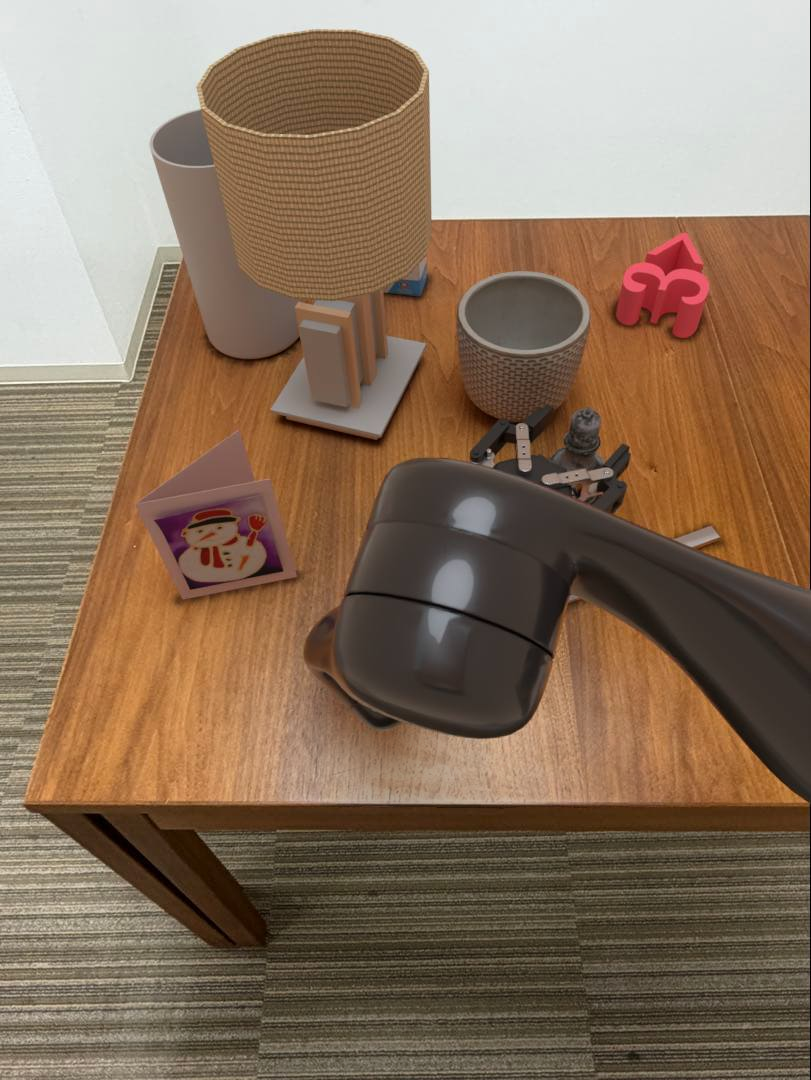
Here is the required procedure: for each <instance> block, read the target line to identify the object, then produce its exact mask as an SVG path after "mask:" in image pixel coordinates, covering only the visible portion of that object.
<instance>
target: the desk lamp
mask: <svg viewBox="0 0 811 1080" xmlns="http://www.w3.org/2000/svg"><path fill="white" fill-rule="evenodd" d="M195 88H196V93H197V98H198V102H199V106H200V109H201V111H202V115H203V119H204V124H205V128H206V132H207V136H208V140H209V144H210V148H211V152H212V157H213V161H214V165H215V169H216V173H217V177H218V181H219V185H220V190H221V194H222V198H223V202H224V206H225V210H226V214H227V218H228V223H229V227H230V231H231V235H232V239H233V243H234V247H235V251H236V256H237V260H238V264H239V268H240V269H241V270H242V271H243V272H244V273H245V274H246V275H247V276H248V277H250V278H251V279H252V280H253V281H254V282H255V283H256V284H257V285H258V286H259V287H261V288H264V289H267V290H270V291H272V292H275V293H278V294H281V295H284V296H286V297H289V298H292V299H301V300H305V301H306V300H307V301H311V302H312V304H311V303H307V302H302V303H301V302H298V303H297V305H296V306H295V313H296V318H297V323H298V329H299V334H300V336H299V339H300V344H301V349H302V355H303V357H302V358H301V360H300V361H299V363H298V364H297V366H296V368H295V369H294V371H293V372H292V374H291V376H290V378H289V379H288V380H287V382H286V383H285V386H284V387H283V388H282V390H281V392H280V393H279V395H278V397H276V399H275V401H274V403H273V404H272V406H271V408H270V413H271V414H276V415H279V416H282V417H283V416H284V417H285V419H286V420H287V421H288V420H289V421H294V422H298V423H301V424H306V425H309V426H315V427H319V428H323V429H327V430H332V431H337V432H340V433H345V434H349V435H353V436H359V437H362V438H367V439H370V440H374V441H378V439H381V438H382V437H383V434H384V432H385V431H386V429H387V427H388V425H389V423H390V421H391V419H392V417H393V415H394V413H395V411H396V409H397V407H398V405H399V403H400V401H401V399H402V397H403V395H404V393H405V391H406V389H407V387H408V385H409V383H410V381H411V379H412V377H413V375H414V372H415V371H416V369H417V367H418V364H419V363H420V361H421V359H422V357H423V354H424V353H425V350H426V349H427V346H428V344H427V342H423V341H421V342H420V341H417V340H411V339H407V338H401V337H397V336H391V335H387V334H388V333H387V322H386V309H385V297H384V296H385V295H384V294H385V293H383V288H385V287H387V286H389V285H391V284H393V283H395V282H397V281H399V280H401V279H403V278H405V277H407V276H408V275H409V274H410V273H411V272H412V271H413V270H414V269H415V267H416V266H417V265H418V264H419V263H420V262H421V261H422V260H423V259H424V258H425V257H426V258H427V256H428V253H429V252H428V251H429V248H430V243H431V238H432V233H433V229H432V227H433V225H432V220H433V219H432V173H431V172H432V171H431V170H432V169H431V168H432V167H431V165H432V164H431V163H432V162H431V115H430V114H431V112H430V109H431V108H430V105H431V104H430V70H429V68H428V67H427V64H426V63H425V62H424V59H423V58H422V57H421V55H420V53H419V52H418V51H417V50H416V49H414V48H412V47H410V46H408V45H406V44H404V43H403V42H400V41H399V40H397V39H395V38H393V37H391V36H387V35H381V34H377V33H372V32H367V31H363V30H357V29H334V28H333V29H331V28H330V29H328V28H327V29H326V28H324V29H323V28H322V29H321V28H313V29H307V30H301V31H300V30H299V31H294V32H286V33H282V34H281V33H280V34H275V35H270V36H268V37H267V36H266V37H265V38H262V39H259V40H255V41H253V42H250V43H248V44H244V45H242V46H238V47H236V48H234V49H233V50H231V51H230V52H228V53H227V54H225V55H224V56H222V57H220V58H219V59H218V60H216V61H214V62H213V63H211V64H210V65H209V66H208V67H207V69H206V70H205V72H204V74H203V75H202V76H201V78H200V80H199V81H198V83H197V85H196V87H195Z"/></svg>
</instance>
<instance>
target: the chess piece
mask: <svg viewBox="0 0 811 1080" xmlns="http://www.w3.org/2000/svg"><path fill="white" fill-rule="evenodd" d="M601 426H602V418H601V416H600V415H599V413H598V412H597V411H596V410H594V409H592V408H591V407H590V406H587V407H585V408H581V409H578V410H576V411H574V413H572V416H571V418H570V423H569V430H568V431H567V432H566V433H565V435H564V436H563V445H564V447H561V448H559V449H557V450H555V451H554V452H553V453H552V454H551V456H550V458H548V460H549V461H551V462H552V463H555V464H558V465H561V466H563V467H565V468H566V469H567V472H569V471H574V470H579V469H586V470H587V471H590V470H595V469H600V468H603V465H604V463H605V462H606V461H605V460H604V459H603V457H602V456H601V455H600V454H599V453H598V452H597V451H598V450H599V449H600V448H601V447H600V446H601V443H602V440H601V437H600V436H599V435H600V429H601ZM571 487H572V490H573V489H575V487H576V484H574V485H571ZM597 497H598V495H597V496H592V497H589V498H587V499H586V500H585V501H583V502H586V503H588V504H591V505H592V504H593V503H594V502H595V501H596V500H597Z"/></svg>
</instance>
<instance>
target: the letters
mask: <svg viewBox="0 0 811 1080" xmlns="http://www.w3.org/2000/svg"><path fill="white" fill-rule="evenodd" d="M703 268H704V263H703V261H702V259H701V257H700V255H699V253H698V251H697V249H696V247H695V246H694V243H693V242H692V239H691V237H690V236H689V234H688V233H687V232H681V233H679V234H678V235H676V236H674V237H672V238H671V239H669V240H667V241H666V242H664V243H662V244H661V245H659V246H657V247H655V248H654V249H652V250H649V252H647V253H646V256H645V260H644V262H643V261H642V262H637V263H634V264H632V265H630V266H629V267H628V268H627V269H626V271H625V273H624V275H623V278H622V283H621V288H620V292H619V297H618V303H617V307H616V313H615V317H616V319H617V321H618V322H619V323H621V324H622V325H624V326H633V325H636V324H637V322H638V321H639V319H640V315H641V311H642V308H643V309H646V310H647V311H649V312H650V313H651V316H650V321H649V323H650V324H655V325H657V324H658V322H659V319H660V318H661V316H663V315H665V314H667V313H674V314H676V316H675V320H674V324H673V327H672V332H671V333H672V335H673V336H675V337H676V338H679V339H686V338H689V337H691V336H693V335H694V334H695V332H696V331H697V329H698V327H699V324H700V320H701V317H702V314H703V311H704V308H705V305H706V301H707V298H708V294H709V293H710V292H709V291H710V282H709V279H708V278H707V277H706V276H705V275H704V274H703V273H702V272H703Z"/></svg>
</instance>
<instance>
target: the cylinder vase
mask: <svg viewBox="0 0 811 1080" xmlns="http://www.w3.org/2000/svg"><path fill="white" fill-rule="evenodd" d="M149 150H150V153H151V156H152V160H153V162H154V166H155V169H156V172H157V175H158V179H159V183H160V185H161V188H162V191H163V195H164V198H165V201H166V205H167V208H168V212H169V215H170V217H171V221H172V225H173V229H174V231H175V234H176V237H177V240H178V243H179V247H180V250H181V254H182V256H183V260H184V263H185V266H186V269H187V273H188V277H189V280H190V283H191V286H192V289H193V292H194V293H193V294H194V296H195V299H196V302H197V306H198V309H199V313H200V315H201V319H202V322H203V326H204V328H205V332H206V335H207V338H208V341H209V342H210V344H211V345H212V346H213V347H214V348H215V349H216V350H217V351H218V352H220V353H221V354H224V355H225V356H228V357H231V358H235V359H242V360H258V359H263V358H267V357H271V356H274V355H276V354H279V353H281V352H283V351H285V350H287V348H289V347H291V346H292V345H293V344H294V343H295V342H297V340H298V339H299V338H300V334H299V329H298V323H297V318H296V313H295V306H296V305H297V303H298V302H301V303H303V301H302V299H292V298H289V297H286V296H284V295H281V294H278V293H275V292H272V291H270V290H267V289H264V288H261V287H259V286H258V285H257V284H256V283H255V282H254V281H253V280H252V279H251V278H250V277H248V276H247V275H246V274H245V273H244V272H243V271H242V270H241V269H240V268H239V264H238V260H237V256H236V251H235V247H234V243H233V239H232V235H231V231H230V227H229V223H228V218H227V214H226V210H225V206H224V202H223V198H222V194H221V190H220V185H219V181H218V177H217V173H216V169H215V165H214V161H213V157H212V152H211V148H210V144H209V140H208V136H207V132H206V128H205V124H204V119H203V115H202V111H201V108H197V109H193V110H190V111H186V112H184V113H181V114H178V115H176V116H173V117H172V118H170V119H168V120H167V121H164V123H162V124H161V125H160V126H159V127H157V128H156V130H155V131H154V132H153V133H152V135H151V136H150V139H149Z"/></svg>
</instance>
